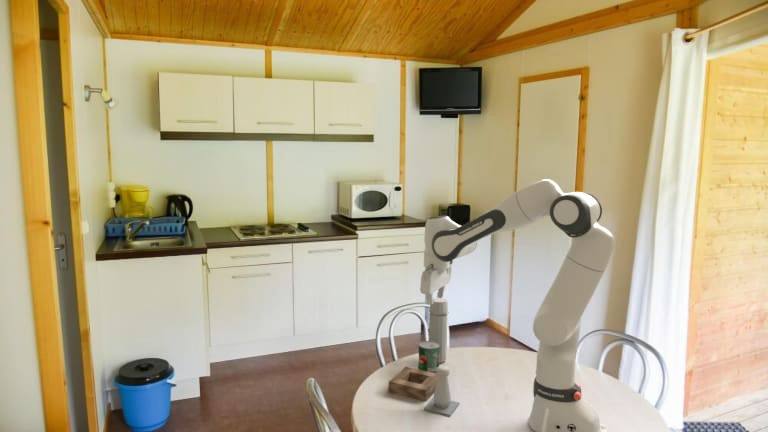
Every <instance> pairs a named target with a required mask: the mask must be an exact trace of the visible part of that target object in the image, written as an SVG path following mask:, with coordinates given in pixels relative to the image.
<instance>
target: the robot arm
mask: <svg viewBox="0 0 768 432" xmlns="http://www.w3.org/2000/svg"><path fill="white" fill-rule="evenodd" d="M602 214H603V207H602V204H601V202H600V200H599V199H598V198H596V196H595V195H593V194H590V193H586V192H582V191H573V192H567V193H566V192H565V193H564V192H563V191H562V189H561V187H560V186H559V185H558V184H557V183H556V182H555V181H553V180H552V179H547V178H546V179H541V180H538V181H536V182H531V183H530V184H528V185H526V186H523V187H522V188H519V189H518V190H515V191H514V192H513V193H511V194H510V195H508V196H506V197H505V198H504V199H502V200H501V201H500V202H498V203H496V205H494V206H493V207H492V208H490V209H489V210H487V211H485V213H483V214H482V215H480V216H478V217H477V218H474V219H473V220H471V221H468V222H466V223H465V224H463V225H461V224H458V223H456V222H455V221H453V220H452V219H451V218H450V217H449V216H448V215H437V216H432V217H429V218H428V219H427V220H426V222H425V226H424V236H423V237H424V241H423V242H424V246H425V247H424V252H423V267H424V268H425V269H424V270H423V271H422V272H421V277H420V288H419V289H420V290H419V291H420V293H421V294H423V295H425V296H426V299H427V300H426V304H427V305H429V306H430V305H432V304H433V303H434V302H433V301H434V299H433V298H434V293H435V292H436V291H438V292H437V294H436V295H437V296H436V298H444V292H445V289H446V285H448V284H450V282H451V279H452V278H451V277H452V269H453V268H452V265H453V264H454V260H455V259H458V258H461V257H464V256H467V255H469V254H471V253H473V252H474V251H475V250H476V247H477V246H478V241H480V240H482V239H484V238H486V237H488V236H490V235H491V236H492V235H494V234H498V233H503V232H510V231H515V230H519V229H522V228H525V227H528V226H530V225H532V224H534V223H536V222H538V221H540V220H542V219H544V218H546V217H549V216H550V219H551V221H552V223H553V224H554V225H555V226H556V227H557V228H559V229H560V230H561V231H562V232H563V233H565V234H566V235H567V236H568V237H569V238H572V242H571V245H570V248H569V250H568V251H567V253H566V256H565V258H564V260H563V262H562V264H561V266H560V268H559V269H558V272H557V275H555V276H556V277H555V278H554V281H553V282H552V283H551V286H550V287H549V289H548V291H547V293H546V295H545V296H544V298H543V301H542V303H541V304H540V307H539V308H538V310H537V312H536V314H535V316H534V319H533V324H532V331H533V333H534V336H535V337H536V339H537V340H538V341H539V342H538V343H539V344H538V350H537V352H536V363H535V365H536V366H535V367H536V368H535V378H534V380H533V385H532V386H533V389H532V391H533V392H532V393H533V402H532V408H531V412H530V415H529V417H528V425H529V427H530V428H531V429H532V430H533V431H535V432H608V429H607V427H606V426H605V425H604V424H603V422H602V423H601V421H600V417H599V413H598V410H597V409H596V408H594V407H593V405H591V404H590V403H589V402H587V401H586V400H585V399H584V398H583V397H582V396H583V394H582V385H581V384H579V385H578V384H576V382H575V377H576V376H575V375H576V360H577V353H578V345H579V338H580V331H581V321H582V316H583V314H584V312H585V311H586V309H587V307H588V305H589V303H590V302H591V299H592V297H593V295H594V293H595V291H596V289H597V287H598V285H599V283H600V281H601V280H602V277H603V276H604V273H605V271H606V269H607V267H608V264H609V263H610V260H611V257H612V254H613V250H614V247H615V236H614V235H613V234H612V232H611V231H610V230H608V229H607V228H606V227H604V226H601V225H600V224H599V223H598V222H599V221H600V220H601V217H602Z"/></svg>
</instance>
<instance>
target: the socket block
mask: <svg viewBox="0 0 768 432" xmlns="http://www.w3.org/2000/svg"><path fill="white" fill-rule="evenodd" d="M437 377H438V375H437V373H432V372H428V371H423V370H419V369H418V368H413V367H409V366H405V367H404V368H402V370H400V371H399V372H398V373H396V375H394V376H393V377H392V378H391V379H390V380H388V393H389V394H394V395H398V396H402V397H406V398H410V399H414V400H417V401H422V402H427V401H428V400H429V399H430V397H432V396H433V395H434V392H435V387H436V382H437Z"/></svg>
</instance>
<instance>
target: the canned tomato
mask: <svg viewBox="0 0 768 432" xmlns="http://www.w3.org/2000/svg"><path fill="white" fill-rule="evenodd" d="M439 348H440V344H439V343H437V342H434V341H429V340H424V341H420V342H419V343H418V366H417V367H418V368H417V369H419V370H423V371H428V372H432V373H436V369H437V367H438V366H440V363H439V350H440V349H439Z"/></svg>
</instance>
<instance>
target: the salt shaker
mask: <svg viewBox="0 0 768 432" xmlns="http://www.w3.org/2000/svg"><path fill="white" fill-rule="evenodd" d="M436 373H437V375H438V377H437V382H436V387H435V392H434V393H433V397H432V398H433V400H434V402H435V405H436V406H437V407H438V408H446V407H448V406H449V404H450V402H451V401H452V395H451V389H450V384H449V378H448V376H449V375H450V367H448V366H446V365H439V366H438V367H437V369H436Z"/></svg>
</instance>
